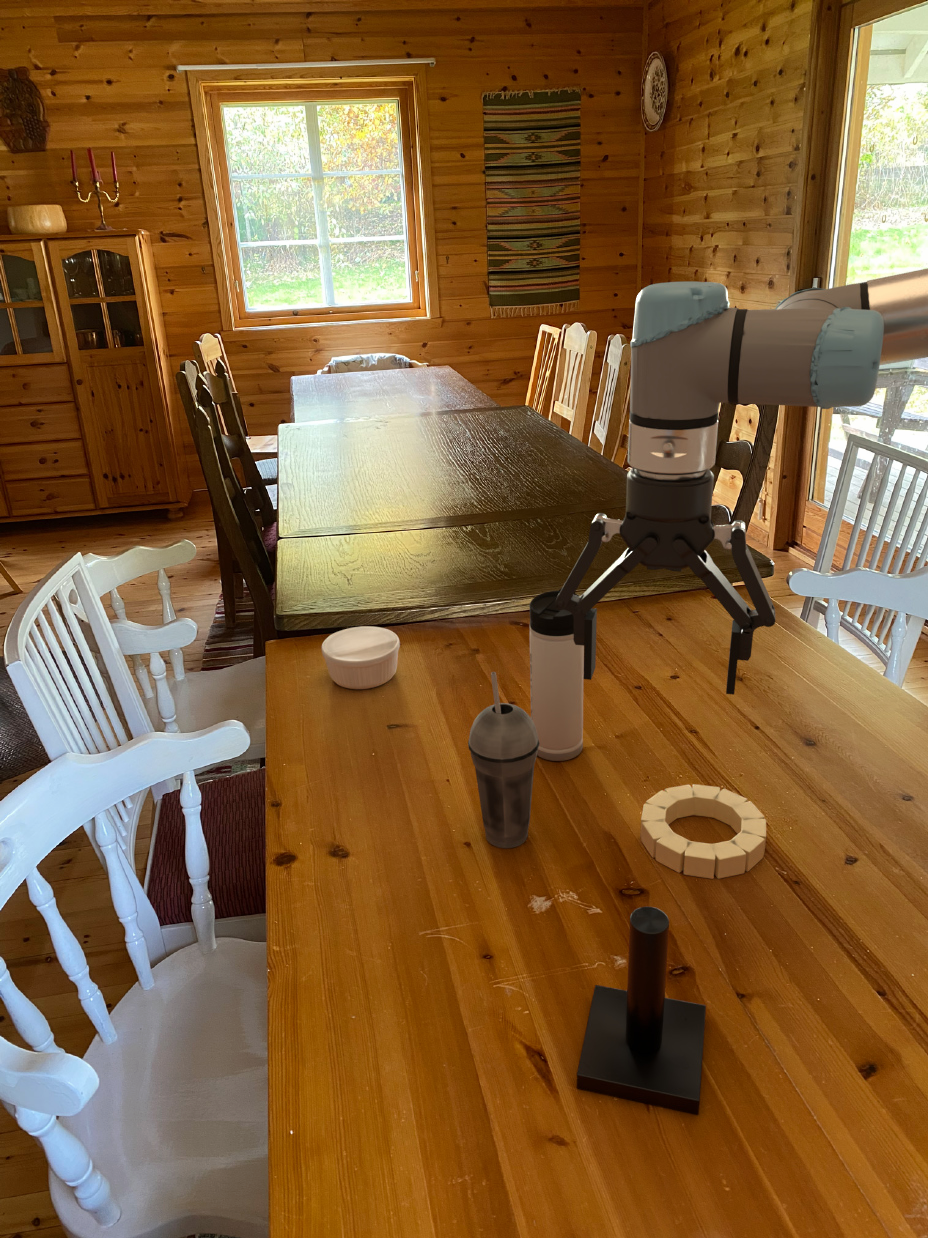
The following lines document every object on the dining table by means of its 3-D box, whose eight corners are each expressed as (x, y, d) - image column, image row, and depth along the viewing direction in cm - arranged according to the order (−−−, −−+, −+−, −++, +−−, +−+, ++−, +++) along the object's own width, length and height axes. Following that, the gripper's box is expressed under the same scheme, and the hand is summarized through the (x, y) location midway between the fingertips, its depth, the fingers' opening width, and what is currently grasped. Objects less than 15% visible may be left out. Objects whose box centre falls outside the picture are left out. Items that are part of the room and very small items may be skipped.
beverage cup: (554, 831, 98) (553, 664, 89) (511, 866, 93) (506, 693, 85) (502, 806, 102) (496, 645, 94) (458, 838, 97) (448, 671, 89)
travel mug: (591, 740, 114) (593, 592, 105) (569, 767, 109) (570, 613, 100) (546, 729, 117) (545, 583, 108) (522, 754, 112) (519, 604, 103)
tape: (763, 811, 99) (765, 792, 98) (764, 887, 88) (766, 867, 87) (648, 796, 103) (648, 778, 102) (634, 867, 92) (635, 848, 91)
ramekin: (371, 701, 125) (368, 666, 123) (308, 683, 131) (304, 650, 129) (417, 667, 134) (414, 634, 132) (356, 652, 139) (353, 620, 137)
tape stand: (704, 1018, 75) (716, 888, 69) (698, 1115, 67) (710, 977, 61) (595, 997, 77) (597, 870, 72) (576, 1088, 69) (577, 953, 64)
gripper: (523, 474, 81) (525, 685, 90) (823, 487, 74) (794, 713, 83) (541, 453, 87) (541, 651, 96) (818, 462, 81) (791, 675, 89)
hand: (658, 680), depth 90 cm, fingers open, 13 cm apart
